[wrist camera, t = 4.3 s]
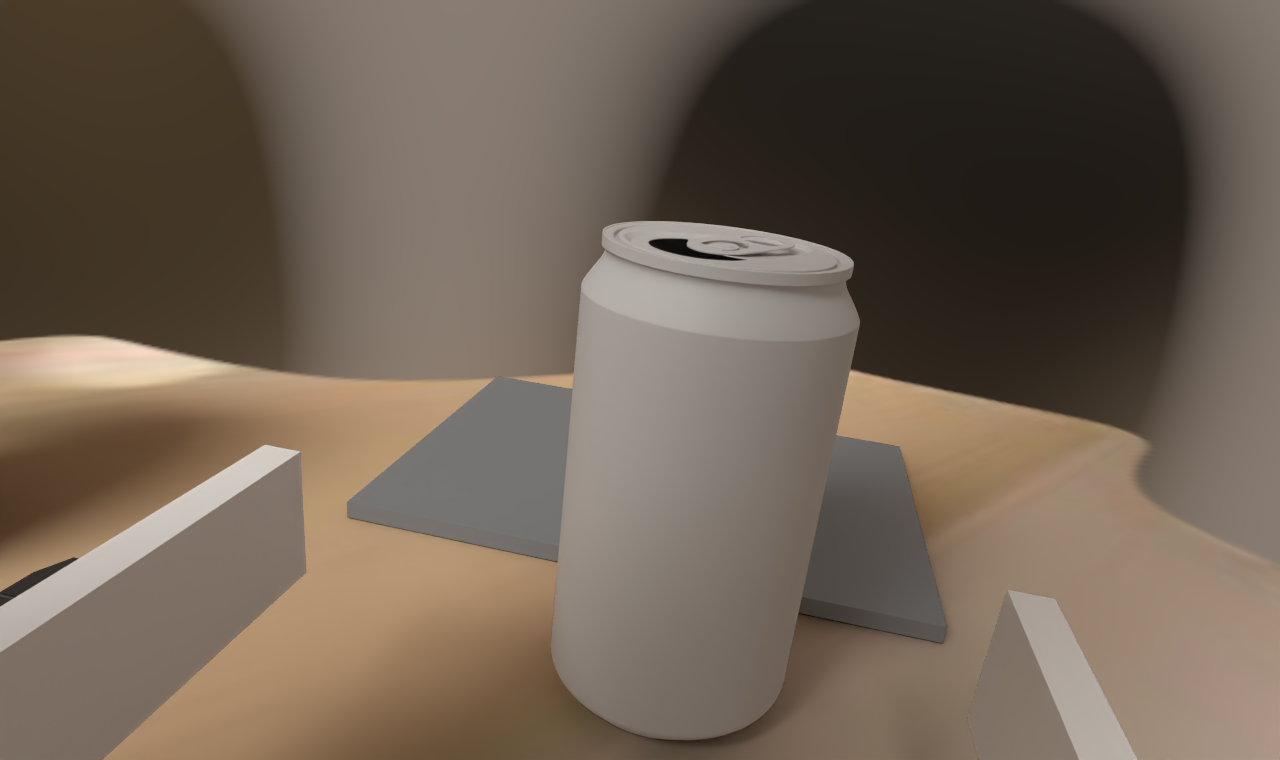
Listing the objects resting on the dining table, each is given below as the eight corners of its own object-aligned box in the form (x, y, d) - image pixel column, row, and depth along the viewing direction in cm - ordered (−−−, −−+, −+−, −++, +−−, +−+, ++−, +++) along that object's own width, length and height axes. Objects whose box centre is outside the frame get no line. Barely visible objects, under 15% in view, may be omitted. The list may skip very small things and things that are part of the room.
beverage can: (509, 636, 22) (534, 211, 18) (689, 580, 26) (743, 214, 22) (629, 805, 17) (699, 277, 13) (830, 708, 21) (935, 267, 17)
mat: (896, 457, 37) (899, 446, 37) (942, 643, 24) (947, 627, 24) (497, 387, 40) (497, 376, 40) (347, 517, 27) (347, 501, 27)
